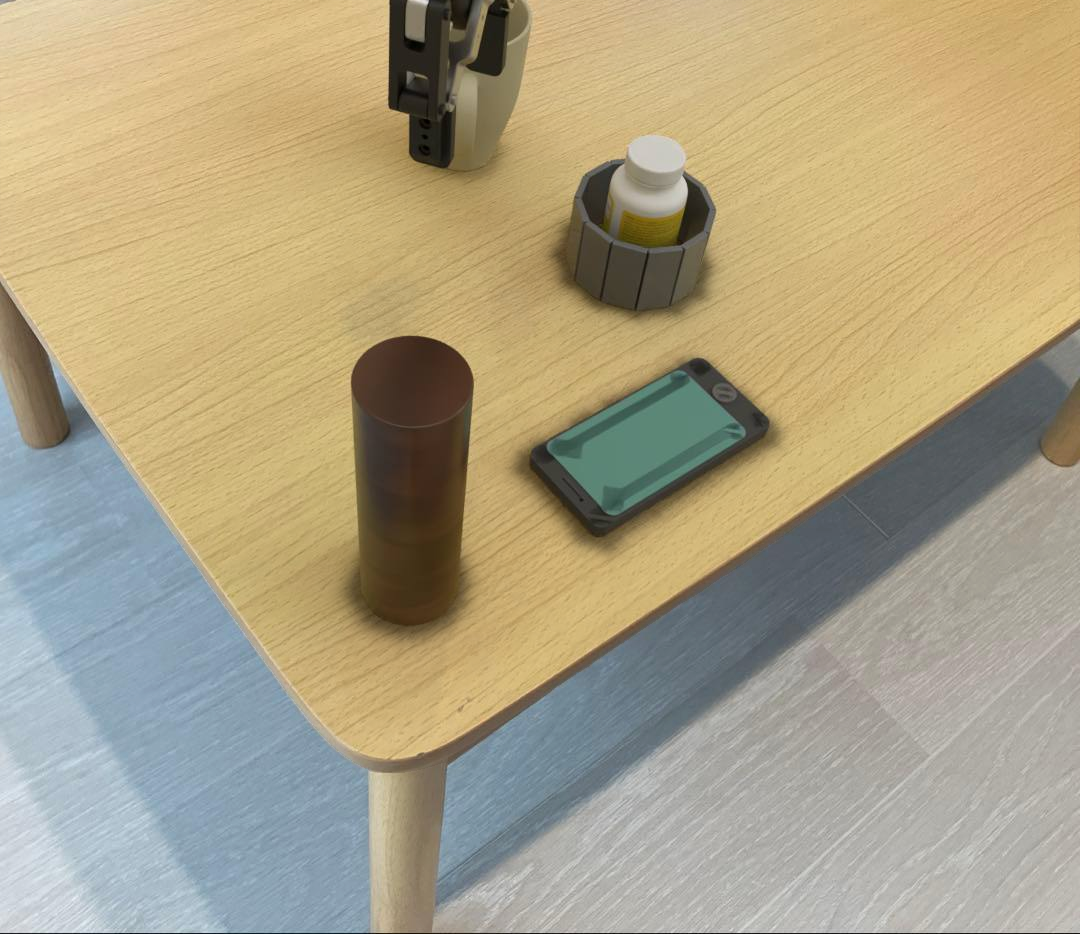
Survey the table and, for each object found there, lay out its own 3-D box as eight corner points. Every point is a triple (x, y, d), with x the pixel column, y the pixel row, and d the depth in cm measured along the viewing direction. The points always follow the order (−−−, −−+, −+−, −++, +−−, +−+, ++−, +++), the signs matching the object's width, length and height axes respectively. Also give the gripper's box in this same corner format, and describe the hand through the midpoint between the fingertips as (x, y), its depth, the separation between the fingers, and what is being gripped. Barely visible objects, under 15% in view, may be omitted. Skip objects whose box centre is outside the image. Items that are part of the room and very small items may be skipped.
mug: (369, 145, 91) (366, 4, 81) (469, 101, 95) (477, -38, 86) (457, 224, 87) (465, 85, 77) (558, 174, 91) (577, 37, 81)
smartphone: (775, 421, 77) (599, 529, 70) (770, 433, 78) (596, 540, 71) (699, 350, 80) (524, 447, 73) (695, 363, 81) (522, 459, 74)
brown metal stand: (470, 558, 70) (489, 353, 55) (439, 637, 66) (451, 442, 52) (381, 531, 70) (377, 321, 56) (346, 608, 67) (331, 407, 52)
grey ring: (710, 236, 88) (726, 178, 84) (683, 324, 83) (699, 267, 78) (586, 203, 89) (595, 144, 85) (551, 288, 84) (560, 229, 79)
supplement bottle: (684, 271, 86) (713, 164, 78) (625, 297, 84) (649, 189, 76) (640, 227, 88) (663, 118, 81) (581, 251, 86) (600, 142, 78)
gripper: (505, -107, 45) (483, 215, 58) (601, -251, 54) (563, 58, 67) (323, -152, 46) (341, 176, 59) (446, -287, 55) (438, 26, 68)
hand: (459, 113), depth 63 cm, fingers open, 8 cm apart
